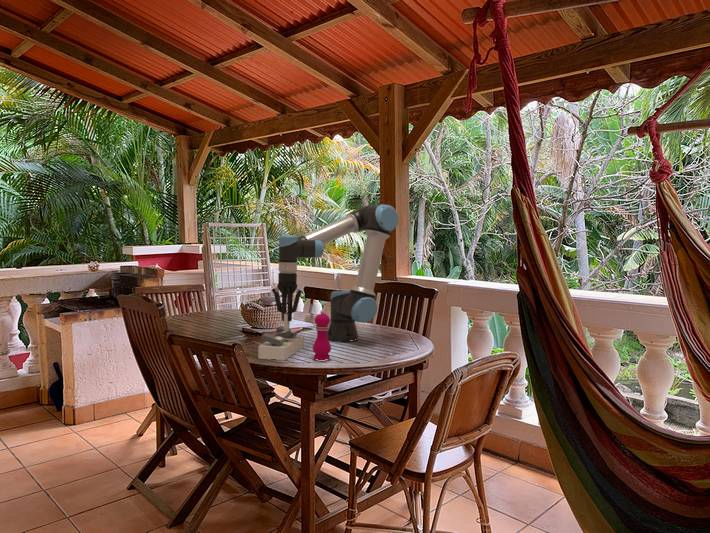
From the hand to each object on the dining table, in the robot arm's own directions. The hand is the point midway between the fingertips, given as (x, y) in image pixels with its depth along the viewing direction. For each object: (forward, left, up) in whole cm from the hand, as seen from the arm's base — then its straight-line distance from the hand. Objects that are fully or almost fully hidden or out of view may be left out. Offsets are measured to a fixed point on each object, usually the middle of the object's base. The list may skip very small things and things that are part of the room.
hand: (286, 328), depth 225 cm
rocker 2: (+3, 0, -3) cm, 4 cm away
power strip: (+2, -3, -10) cm, 11 cm away
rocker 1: (+3, +8, -3) cm, 9 cm away
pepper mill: (-17, +6, -10) cm, 21 cm away
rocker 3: (+3, -8, -3) cm, 9 cm away
